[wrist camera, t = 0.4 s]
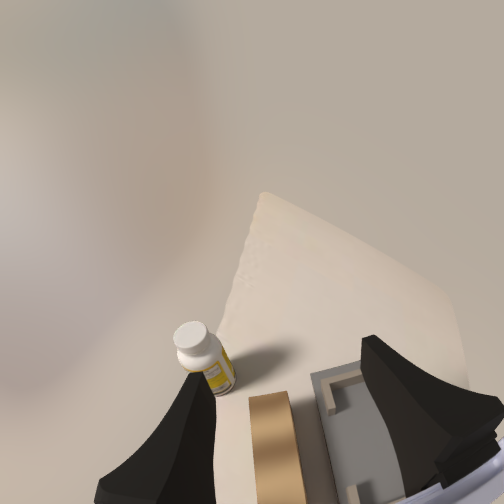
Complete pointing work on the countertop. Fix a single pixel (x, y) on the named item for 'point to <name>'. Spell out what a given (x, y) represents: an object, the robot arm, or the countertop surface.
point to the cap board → (356, 438)
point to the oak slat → (276, 451)
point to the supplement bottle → (204, 356)
